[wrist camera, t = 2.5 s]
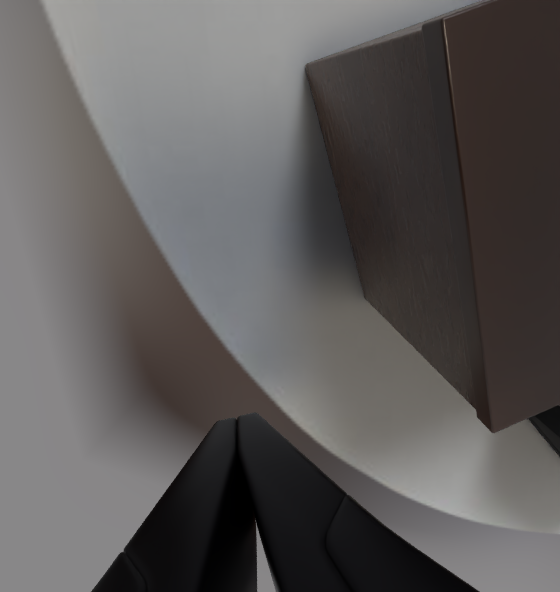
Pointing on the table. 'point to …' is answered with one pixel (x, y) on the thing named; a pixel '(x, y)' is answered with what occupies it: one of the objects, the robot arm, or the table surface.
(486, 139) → the brown box
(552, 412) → the digital camera
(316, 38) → the table surface
